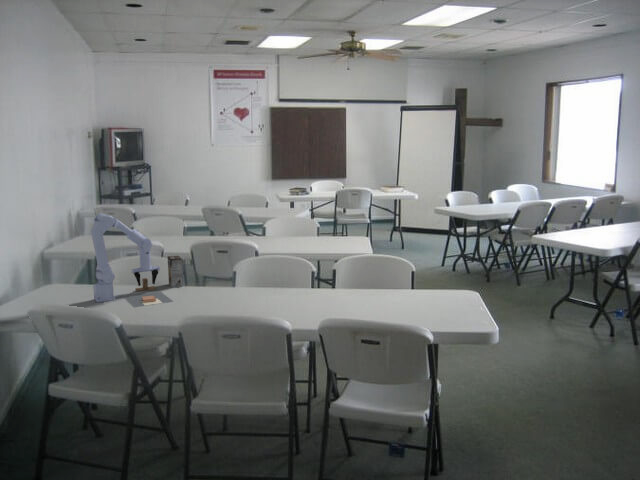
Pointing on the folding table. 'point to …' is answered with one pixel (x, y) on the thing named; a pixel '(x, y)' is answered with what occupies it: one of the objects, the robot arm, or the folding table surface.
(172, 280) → the coffee box
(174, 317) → the folding table surface
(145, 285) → the brown t-shaped block
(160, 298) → the slate board
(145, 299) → the tile
